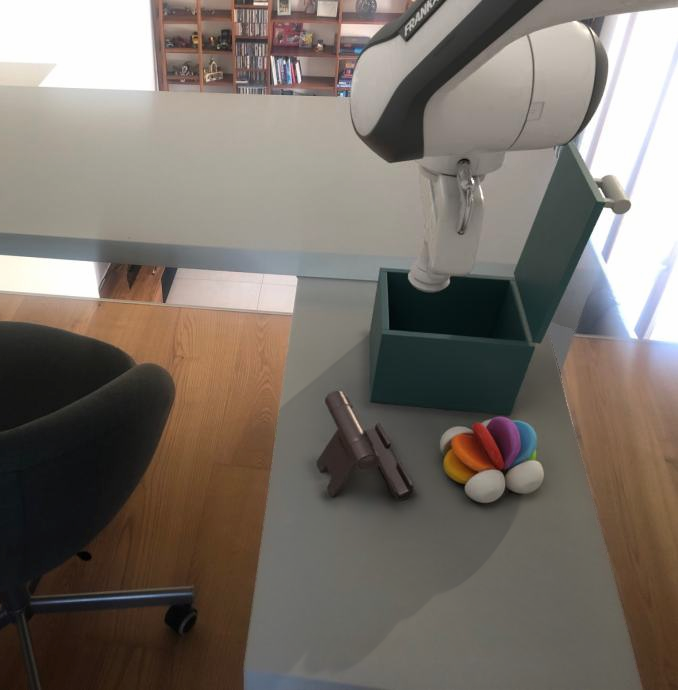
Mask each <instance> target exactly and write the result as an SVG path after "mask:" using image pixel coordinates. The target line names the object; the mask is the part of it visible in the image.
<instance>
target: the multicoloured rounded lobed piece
mask: <svg viewBox="0 0 678 690" xmlns="http://www.w3.org/2000/svg"><path fill="white" fill-rule="evenodd" d="M537 444H538V437H537V433H536V431H535V429H534V428H533V426H532V425H530V424H529V423H528V422H525V421H522V420H518V419H517V420H511V419H510V418H508V417H505V416H496V417H493V418H489V419H486V420H484V421H482V422H480V421H477V422H475V423H473V424H472V429H470V428H468V427H466V426H459V425H458V426H452V427H450V428H448V429H447V430H446V431H445V432H444V433H443V434H442V435H441V438H440V440H439V449H440V453H441V454H442V456H444V458H443V462H442V466H443V471H444V472H445V474H446V475H447V476H448V477H449V478H450V479H452V481H455V482H457V483H459V484H463V485H464V492H465V495H466V496H468V498H470V499H471V500H473V501H474V502H477V503H482V504H488V503H492V502H495V501H497V500H498V499H499V498H501V496H502V495H503V494H504V491H505V489H509V490H510V491H512V492H513V493H516V494H523V495H524V494H529V493H532V492H534V491H536V490H537V489H538V488H539V487H540V486H541V485H542V483H543V480H544V478H545V477H544V476H545V475H544V474H545V473H544V468H543V465H542V464H541V462H540V461H537V450H536V448H537V446H538V445H537Z"/></svg>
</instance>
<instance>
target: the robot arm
mask: <svg viewBox="0 0 678 690" xmlns="http://www.w3.org/2000/svg"><path fill="white" fill-rule="evenodd" d="M675 8H676V9H677V8H678V0H414V1H413V3H411V5H410V6H409V7H408V8H407V9H406V10H405V11H404V12H403V13H402V14H401V15H400V16H399V17H398V18H396V19H393V20H389V21H387V22H386V23H385V24H384V25H382V27H381V28H380V29H379V30H378V31H377V32H376V33H375V34H374V35H373V36H372V37H371V38H370V39H369V40H368V41H367V42H366V44H365V45H364V47H362V49H361V51H360V52H359V54H358V56H357V59H356V61H355V64H354V67H353V71H352V75H351V80H350V89H349V113H350V119H351V120H350V121H351V124H352V127H353V130H354V132H355V134H356V136H357V137H358V139H360V141H361V142H362V143H363V144H364V145H365V146H366V147H367V148H368V149H369V150H371V151H372V153H374V154H375V155H377V156H378V157H379V158H381V159H382V160H383V161H386V163H388V164H395V163H402V162H409V161H414V162H415V163H416V164H418V179H419V187H420V195H421V196H420V197H421V203H422V211H423V219H424V223H425V227H424V228H426V229H425V233H424V235H425V234H426V236H427V244H428V252H429V257H428V263H427V275H428V277H429V278H436V279H442V278H444V277H445V275H446V276H467V275H468V274H471V272H472V271H473V268H474V266H475V262H476V257H477V252H478V248H479V244H480V238H481V233H482V229H483V223H484V216H485V205H486V204H485V196H484V193H483V188H482V184H481V183H482V182H483V181H485V180H486V178H487V176H488V174H491V173H494V172H496V171H497V170H499V169H501V168H502V167H503V165H504V164H505V162H506V158H507V155H508V153H509V152H511V153H512V152H526V151H539V150H540V151H541V150H547V149H553V148H555V147H556V148H557V147H563V146H564V145H566V144H568V143H569V142H571V141H574V139H576V138H577V137H578V136H579V135H580V134H581V133H582V132H583V131H584V130H585V129H586V128H587V126H588V125H589V124H590V122H591V121H592V119H593V117H594V116H595V114H596V112H597V110H598V108H599V106H600V104H601V101H602V98H603V96H604V93H605V90H606V86H607V81H608V77H609V58H608V54H607V52H606V49H605V46H604V44H603V43H602V41H601V39H600V38H599V36H598V35H597V34H596V32H595V31H594V30H593V29H592V28H591V26H589V25H588V24H587V23H586V22H584V20H588V19H595V18H602V17H609V16H615V15H623V14H631V13H639V12H647V11H650V12H651V11H656V10H657V11H658V10H667V9H675ZM582 20H583V21H582ZM424 242H425V240H424V239H423V243H424Z"/></svg>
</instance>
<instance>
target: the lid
mask: <svg viewBox="0 0 678 690" xmlns="http://www.w3.org/2000/svg"><path fill="white" fill-rule="evenodd" d="M631 208H632V202H631V201H630V199H629V197H628V195H627V193H626V192H625V190H624V188H623V187H622V185H621V183H620V181H619V180H618V178H617V177H616V176H615V175H613V174H607V175H604V176H602V177H601V178H598V177H593V175H592V173H591V171H590V169H589V168H588V166H587V164H586V162H585V160H584V158H583V156H582V154H581V152H580V150H579V149H578V147H577V144H576V143H575V141H574V140H572V141H571V142H569V143H568V144H566V145H564V146H562V149H561V151H560V153H559V157H558V159H557V162H556V164H555V166H554V169H553V172H552V174H551V176H550V180H549V182H548V185H547V187H546V189H545V192H544V195H543V197H542V199H541V202H540V204H539V207H538V210H537V212H536V215H535V217H534V220H533V223H532V225H531V227H530V230H529V233H528V235H527V238H526V240H525V243H524V246H523V248H522V251H521V253H520V256H519V258H518V261H517V263H516V266H515V269H514V271H513V277H515V280H516V283H517V287H518V291H519V294H520V298H521V301H522V305H523V308H524V312H525V315H526V319H527V322H528V326H529V330H530V333H531V337H532V340H533V343H535V344H542V342H543V339H544V338H545V335H546V334H547V331H548V329H549V327H550V325H551V322H552V320H553V318H554V316H555V314H556V311H557V310H558V307H559V305H560V304H561V301H562V299H563V296H564V294H565V292H566V291H567V288H568V285H569V284H570V282H571V279H572V277H573V275H574V273H575V271H576V269H577V266H578V264H579V262H580V260H581V258H582V256H583V253H584V251H585V250H586V247H587V245H588V242H589V241H590V239H591V235H593V232H594V230H595V227H596V225H597V223H598V221H599V218H600V217H601V214H602V213H603V210H604V209H611V211H612V213H614V214H615V215H624V214H626V213H628V212H629V211H630V209H631Z"/></svg>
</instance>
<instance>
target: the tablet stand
mask: <svg viewBox="0 0 678 690" xmlns="http://www.w3.org/2000/svg"><path fill="white" fill-rule="evenodd" d="M324 403H325V405H326V407H327V410H328V411H329V413H330V415H331V417H332V420H333V422H334V424H335V425H336V428H337V429H336V431H335V432H334V434H333V436H332V437H331V439H330V440H329V441H328V443H327V445H326V446H325V448H324V449H323V451H322V452H321V454H320V455H319V457H318V459H317V460H316V467H317V469H318V471H319V473H323V472H324V471H325V470H326V469H327V470H328V472H329V475H330V480H329V483H328V484H327V486H326V489H327V492H328V493H329V495H330V496H331V497H335V496H336V495H337V494H338V492H339V491H340V489H341V488H342V486H343V485H344V484H345V482H346V481H347V479H348V478H349V476H350V475H351V474H352V472H353V470H354V469H355V468H357V469H358V470H360V471H361V470H362V471H364V470H369V469H372V468H374V467H379V469H380V471H381V473H382V474H383V476H384V478H385V480H386V482H387V484H388V489H389V490H390V492H391V494H393V496H394V497H395V499H396V500H399V501H403V500H406V499H408V498H410V497H411V496H412V495H413V493H414V483H413V481H412V479H411V478H410V477H411V476H409V474H408V472H407V470H406V469H405V466H404V464H403V463H402V462H401V461H398V458H397V457H396V456H395V453H394V451H393V449H392V448H391V442H390V440H389V438H388V436H387V434H386V433H385V431H384V429H383V427H382V426H381V424H380V422H377V423H376V424H375V426H374V428H372V429H370V430H368V431H366V430H365V429H364V428H363V426H362V424H361V423H360V421H359V419H358V417H357V415H356V413H355V411H354V407H353V405H352V403H351V401H350V399H349V397H348V396H346V393H345V392H343V391H342V390H334V391H331V392H329V393H328V394H327V395H326V396H325V399H324Z"/></svg>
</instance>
